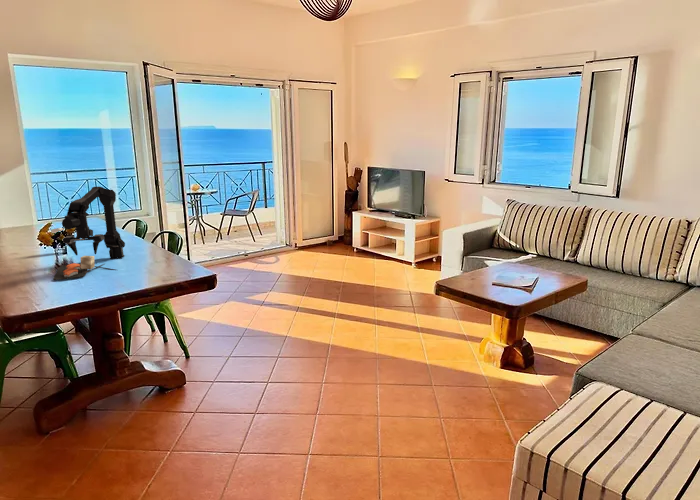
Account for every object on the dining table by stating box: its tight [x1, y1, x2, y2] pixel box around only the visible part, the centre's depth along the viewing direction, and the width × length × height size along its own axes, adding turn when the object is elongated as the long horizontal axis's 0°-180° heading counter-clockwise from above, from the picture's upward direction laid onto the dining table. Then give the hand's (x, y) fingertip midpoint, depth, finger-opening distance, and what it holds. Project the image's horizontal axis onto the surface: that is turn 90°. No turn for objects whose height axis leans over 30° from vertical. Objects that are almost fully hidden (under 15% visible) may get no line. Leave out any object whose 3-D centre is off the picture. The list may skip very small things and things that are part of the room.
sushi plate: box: [52, 262, 117, 281], centre depth 254 cm, size 29×30×4 cm
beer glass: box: [51, 227, 65, 234], centre depth 291 cm, size 7×7×15 cm
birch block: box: [80, 255, 96, 270], centre depth 254 cm, size 5×5×6 cm
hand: (86, 254), depth 252 cm, fingers open, 9 cm apart
